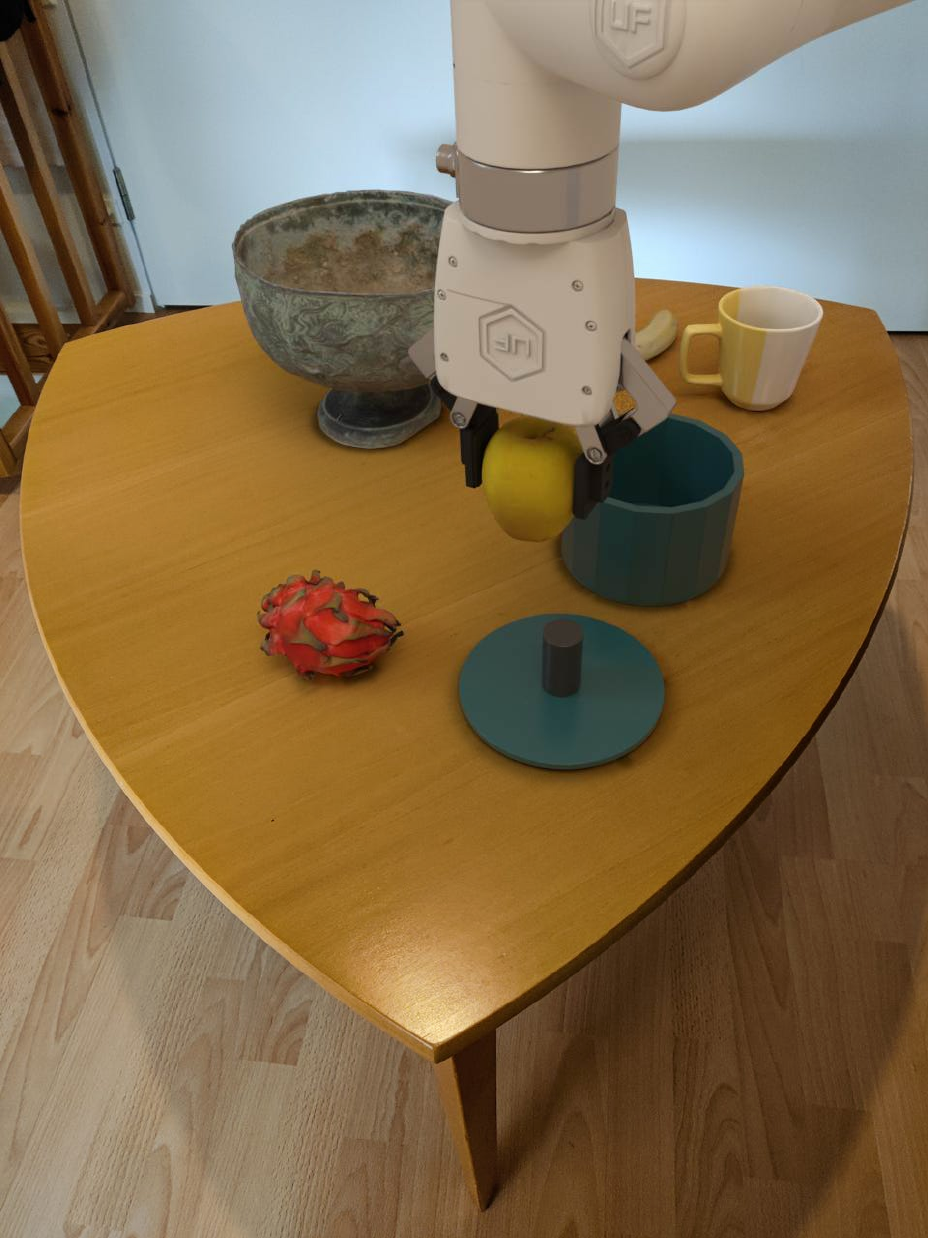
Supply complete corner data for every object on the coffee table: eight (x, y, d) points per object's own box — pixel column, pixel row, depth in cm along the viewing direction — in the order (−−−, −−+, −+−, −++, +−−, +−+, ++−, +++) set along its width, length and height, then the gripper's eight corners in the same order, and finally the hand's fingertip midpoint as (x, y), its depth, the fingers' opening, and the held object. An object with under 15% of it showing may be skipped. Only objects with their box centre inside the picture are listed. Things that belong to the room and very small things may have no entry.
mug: (798, 374, 111) (817, 284, 103) (808, 425, 103) (829, 331, 96) (673, 370, 112) (683, 281, 105) (674, 419, 105) (685, 327, 98)
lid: (693, 662, 79) (704, 601, 75) (613, 807, 70) (619, 746, 65) (517, 601, 86) (517, 540, 81) (421, 725, 76) (415, 664, 71)
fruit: (700, 350, 115) (703, 324, 113) (591, 386, 111) (592, 359, 108) (662, 326, 120) (665, 300, 118) (556, 359, 115) (557, 332, 113)
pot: (748, 529, 91) (766, 436, 84) (691, 627, 82) (707, 532, 75) (602, 487, 97) (608, 396, 90) (534, 574, 88) (535, 481, 81)
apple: (581, 567, 59) (587, 453, 53) (475, 558, 60) (470, 445, 54) (591, 502, 63) (597, 391, 58) (492, 495, 64) (489, 385, 59)
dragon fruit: (261, 655, 84) (399, 686, 83) (228, 674, 76) (381, 709, 75) (279, 557, 83) (419, 587, 82) (247, 565, 74) (403, 599, 74)
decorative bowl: (214, 399, 111) (178, 220, 97) (403, 330, 122) (396, 161, 108) (342, 519, 96) (322, 328, 82) (544, 428, 107) (557, 246, 93)
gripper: (342, 184, 48) (379, 487, 61) (684, 242, 42) (648, 568, 54) (420, 136, 53) (440, 426, 65) (739, 181, 46) (695, 494, 59)
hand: (534, 488), depth 60 cm, fingers closed on apple, 6 cm apart
